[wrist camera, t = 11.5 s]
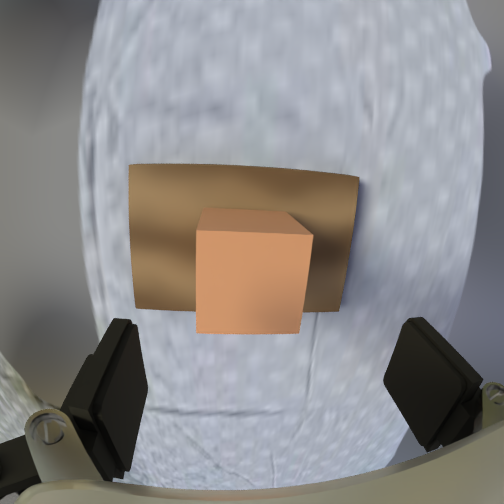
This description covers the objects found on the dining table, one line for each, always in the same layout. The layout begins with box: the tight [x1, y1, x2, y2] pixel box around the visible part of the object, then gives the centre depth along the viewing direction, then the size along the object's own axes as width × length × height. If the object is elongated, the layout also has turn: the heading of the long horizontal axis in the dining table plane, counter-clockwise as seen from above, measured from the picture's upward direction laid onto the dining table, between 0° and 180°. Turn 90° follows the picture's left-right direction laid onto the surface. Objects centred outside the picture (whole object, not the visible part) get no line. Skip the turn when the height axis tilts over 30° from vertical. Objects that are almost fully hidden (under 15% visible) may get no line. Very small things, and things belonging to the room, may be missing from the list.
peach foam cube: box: [196, 208, 313, 334], centre depth 19 cm, size 6×6×7 cm
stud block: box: [129, 164, 359, 312], centre depth 21 cm, size 12×18×9 cm, turn 87°
